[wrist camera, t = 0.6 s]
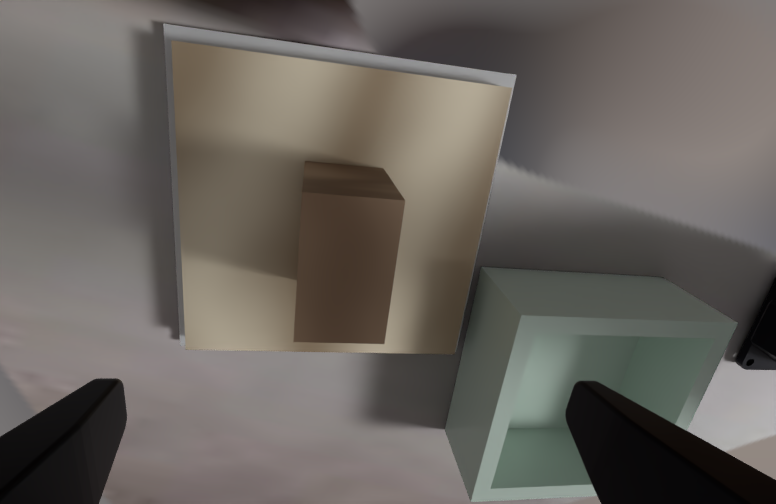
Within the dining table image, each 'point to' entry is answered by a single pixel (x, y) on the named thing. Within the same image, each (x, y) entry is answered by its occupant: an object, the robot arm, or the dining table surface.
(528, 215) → the dining table surface
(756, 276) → the dining table surface
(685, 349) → the dish
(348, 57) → the mat
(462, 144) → the lid
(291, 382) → the dining table surface
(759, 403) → the dining table surface
